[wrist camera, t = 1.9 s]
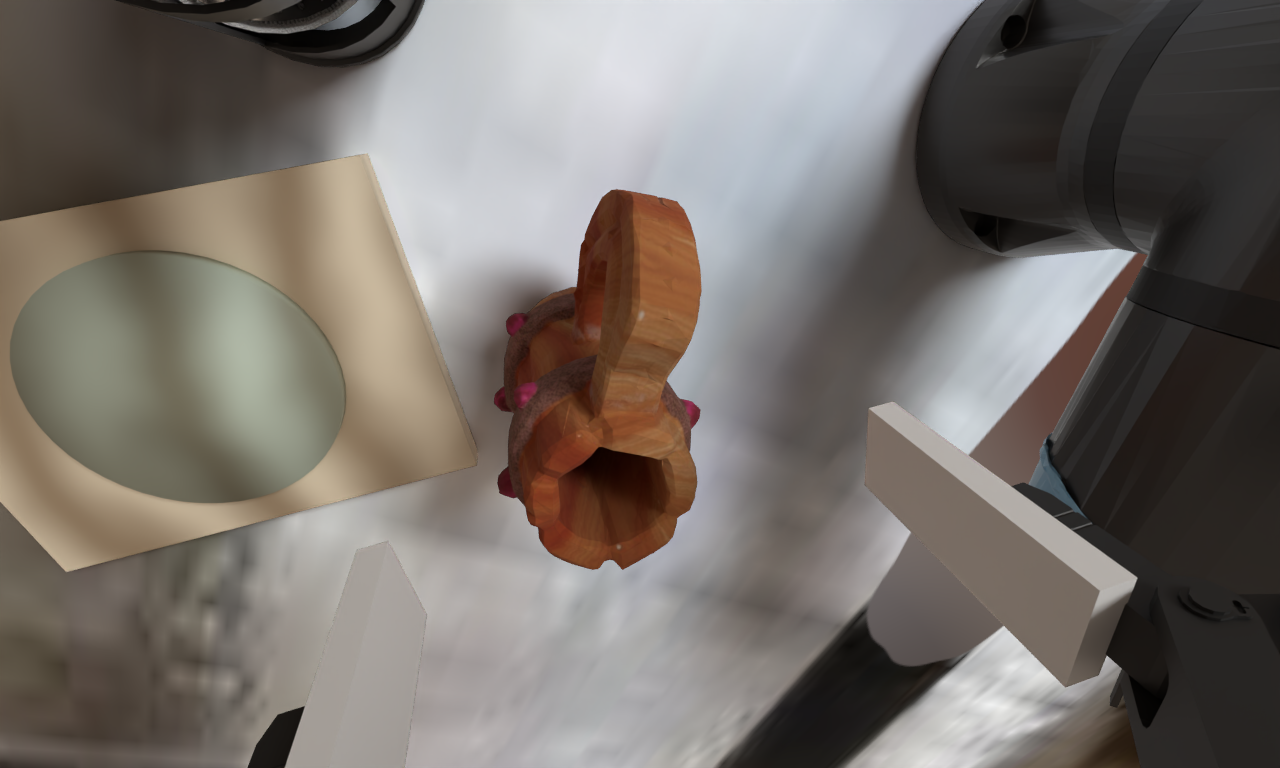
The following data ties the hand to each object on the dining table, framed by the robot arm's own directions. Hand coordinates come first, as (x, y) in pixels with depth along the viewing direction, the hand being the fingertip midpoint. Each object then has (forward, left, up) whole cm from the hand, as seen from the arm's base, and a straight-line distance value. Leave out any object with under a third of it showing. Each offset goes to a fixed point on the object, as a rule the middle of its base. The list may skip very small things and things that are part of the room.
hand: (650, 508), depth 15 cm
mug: (0, 0, -18) cm, 18 cm away
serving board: (+19, -1, -18) cm, 26 cm away
